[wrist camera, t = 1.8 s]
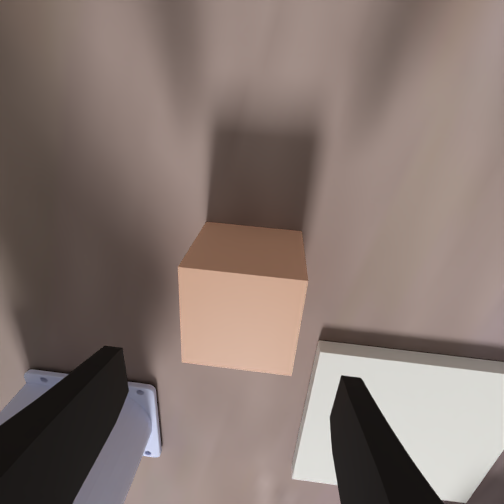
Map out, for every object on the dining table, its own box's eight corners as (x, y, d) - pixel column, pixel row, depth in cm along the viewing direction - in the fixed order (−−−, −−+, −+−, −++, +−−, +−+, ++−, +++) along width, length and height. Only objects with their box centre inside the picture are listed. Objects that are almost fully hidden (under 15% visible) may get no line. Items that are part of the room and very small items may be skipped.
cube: (206, 299, 19) (181, 362, 14) (206, 221, 17) (177, 267, 12) (289, 308, 19) (291, 375, 14) (301, 230, 16) (308, 281, 12)
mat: (291, 465, 25) (292, 478, 24) (318, 340, 19) (320, 352, 18) (459, 488, 24) (466, 503, 23) (539, 366, 19) (552, 379, 18)
